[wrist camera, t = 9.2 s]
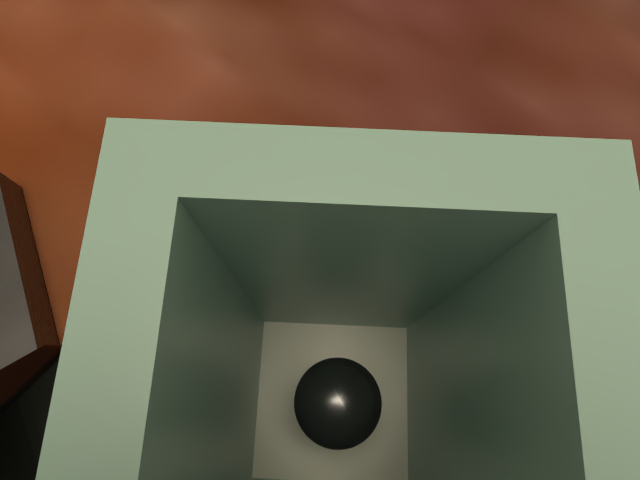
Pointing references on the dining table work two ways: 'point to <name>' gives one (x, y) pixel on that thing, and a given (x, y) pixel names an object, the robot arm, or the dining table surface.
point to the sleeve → (354, 295)
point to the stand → (20, 282)
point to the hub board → (279, 400)
